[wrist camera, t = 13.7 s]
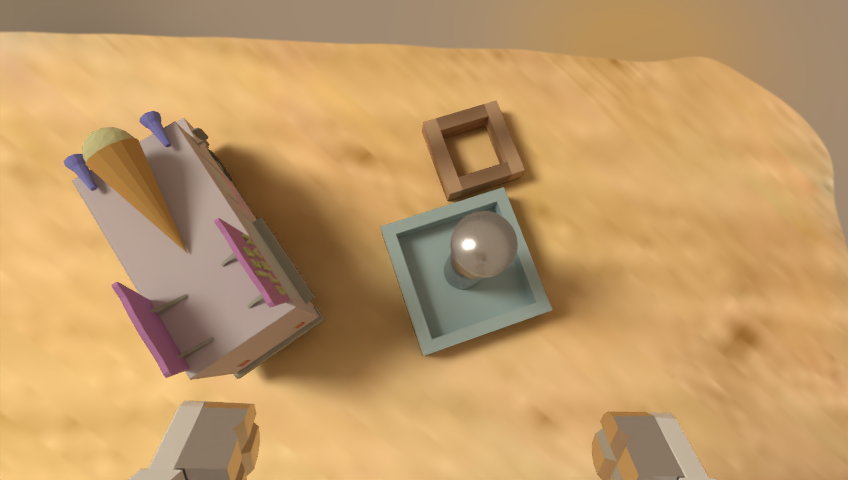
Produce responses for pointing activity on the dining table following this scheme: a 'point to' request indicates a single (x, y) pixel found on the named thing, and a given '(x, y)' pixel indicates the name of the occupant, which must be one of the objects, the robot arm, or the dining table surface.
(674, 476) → the robot arm
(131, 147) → the toy vehicle
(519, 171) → the collar
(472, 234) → the pin
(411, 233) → the tray
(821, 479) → the dining table surface
